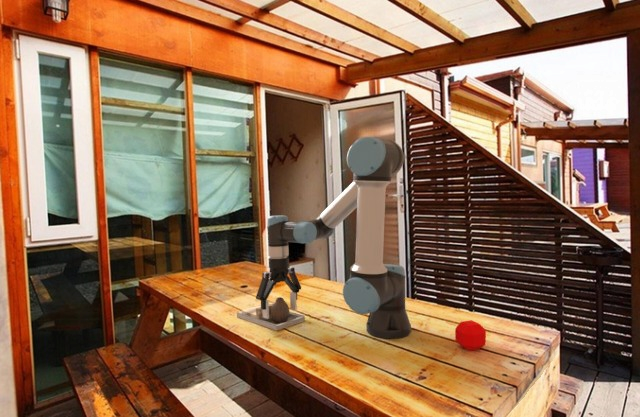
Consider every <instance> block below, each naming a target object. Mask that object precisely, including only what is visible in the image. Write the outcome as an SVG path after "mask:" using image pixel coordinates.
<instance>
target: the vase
mask: <svg viewBox="0 0 640 417" xmlns="http://www.w3.org/2000/svg"><path fill="white" fill-rule="evenodd" d="M273 303H274V304H273ZM273 303H272V304H273V305H272V308H271V316H272V319H273V320H274V321H275V322H276V323H283V322H285V321H286V320H287V319H288V317H289V312H290V307H289V304H288V302H286V300H284V297H277V298H276V299H275V301H274V302H273Z"/></svg>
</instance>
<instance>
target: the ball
mask: <svg viewBox="0 0 640 417" xmlns="http://www.w3.org/2000/svg"><path fill="white" fill-rule="evenodd" d="M454 329H455V330H454V332H455V335H454V337H455V341H456V342H457V343H458V345H459V346H460V347H462V348H463V349H465V348H466V349H465V350H467V351H469V350H471V351H476V350H475V349H477V350H481V349H482V348H483V347H484V346H485V345H486V342H487V332H486V331H487V330H486V328H485V327H483V325H482V324H480V323H478V322H476V321H474V320H464V321H460V322H459V323H458V325H456V327H455V328H454ZM480 348H481V349H480Z"/></svg>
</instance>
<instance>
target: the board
mask: <svg viewBox="0 0 640 417" xmlns="http://www.w3.org/2000/svg"><path fill="white" fill-rule="evenodd" d="M236 317H237V318H239V319H241V320H244V321H248V322H250V323H253V324H255V325H259V326H261V327H264V328H267V329H270V330H274V331H276V332H277V331H279V330H282V329H286V328H288V327H292V326H294V325H297V324H299V323H302V322H305V321H306V316H304V314H303V315H302V314H299V313H295V312H292V311H289V317H288V319H287V320H286V321H285V322H283V323H276V322H275V321H274V320H273V319H272V316H269V318H268V319H267V318H262V319H257V318H254V317H251V316H248V315H245V314H242V311H238V312H236Z"/></svg>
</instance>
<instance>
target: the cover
mask: <svg viewBox="0 0 640 417" xmlns="http://www.w3.org/2000/svg"><path fill="white" fill-rule="evenodd" d="M273 304H274V302H273V303H269V316H271V308H272V305H273ZM241 312H242V314H245V315H248V316H251V317H254V318H257V319H262V318H263V311H262V309H261V304H260V305H256V306H253V307H248V308H245V309H242V310H241Z"/></svg>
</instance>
